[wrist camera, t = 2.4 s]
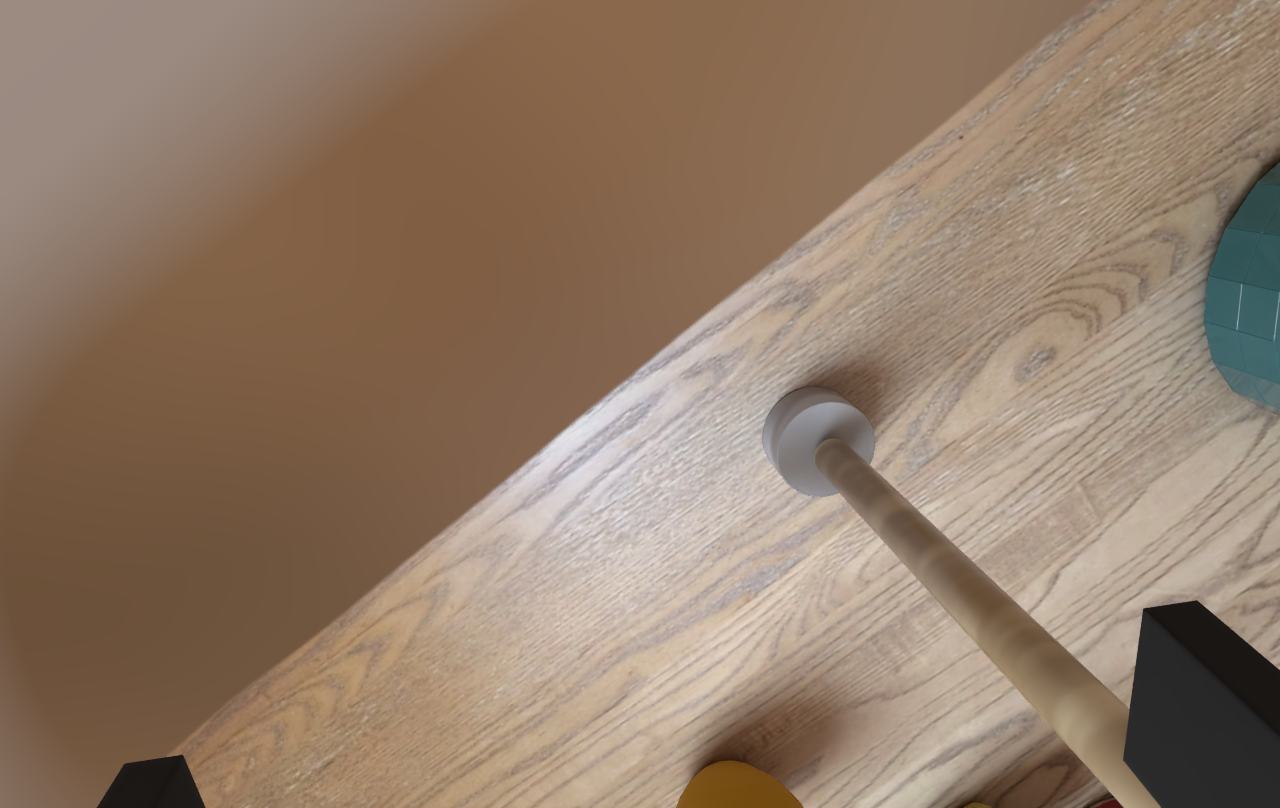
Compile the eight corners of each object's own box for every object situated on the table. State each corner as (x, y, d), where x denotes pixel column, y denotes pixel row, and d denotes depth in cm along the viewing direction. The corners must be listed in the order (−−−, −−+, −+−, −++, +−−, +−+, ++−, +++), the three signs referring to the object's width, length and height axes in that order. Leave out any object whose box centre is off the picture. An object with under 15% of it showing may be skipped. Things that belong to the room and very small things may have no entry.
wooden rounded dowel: (774, 380, 51) (1559, 1133, 13) (865, 392, 52) (1828, 1114, 14) (752, 471, 52) (1392, 1370, 15) (842, 481, 54) (1643, 1335, 16)
